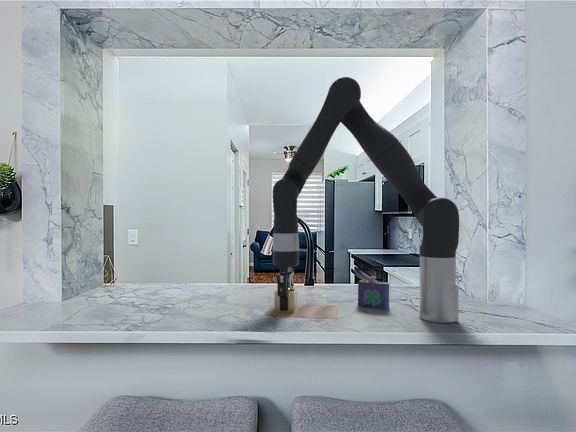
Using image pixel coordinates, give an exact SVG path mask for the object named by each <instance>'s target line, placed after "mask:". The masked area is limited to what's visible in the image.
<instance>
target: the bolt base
mask: <svg viewBox="0 0 576 432" xmlns="http://www.w3.org/2000/svg"><path fill="white" fill-rule="evenodd" d="M339 308H340V306H339V305H331V304H309V303H307V304H306V303H297V308H296V310H295V312H294V313H293V312H274V302H273V303H272V304H271V305H270V306H269V308H268V309H267V310H266V311H265V312H264V314H263V315H262V316H266V317H269V316H270V317H288V318H306V319H328V320H331V319H332V320H339V312H340V311H339Z"/></svg>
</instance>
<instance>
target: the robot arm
mask: <svg viewBox="0 0 576 432" xmlns="http://www.w3.org/2000/svg"><path fill="white" fill-rule="evenodd" d="M361 96H362V90H361V87H360V84H359V82H358V81H357V80H356V79H355V78H352V77H350V76H343V77H339V78H337V79H336V80H334V81H333V82H332V83H331V85H330V86H329V88H328V92H327V94H326V98H325V99H324V102H323V105H322V107H321V109H320V111H319V114H318V115H317V116H316V119H315V121H314V123H312V126H311V127H310V129H309V130H308V132H307V134H306V135H305V137H304V138H303V141H302V142H301V143H300V145H299V147H298V148H297V149H296V151H295V153H294V154H293V156H292V158H291V160H290V161H289V164H288V169H286V171H285V173H284V175H283V176H282V178H281V179H279V180H277V181H276V182H275V183H274V184H273V188H272V204H273V205H272V206H273V213H274V214H273V215H274V216H273V237H272V265H273V266H274V267H279V272H278V273H277V276H276V279H277V283H276V285H277V289H278V294H277V295H278V296H279V297H280V310H281V311H287V310H288V296H289V294H288V292H289V289H294V275H295V274H294V272H295V271H294V268H292V267H297V266H299V264H300V239H299V218H298V213H297V212H298V197H299V196H300V194H301V192H302V190H303V188H304V187H305V184H306V182H307V180H308V179H309V177H310V176H311V175H312V174H313V172H314V170H315V168H316V167H317V166H318V164H319V162H320V160H321V159H322V157H323V155H324V153H325V151H326V149H327V147H328V146H329V143H330V142H331V139H332V137H333V135H334V133H335V131H336V130H337V128H338V127H339V125H340V123H341V124H342V125H343V126H344V127H345V128H346V130H348V131H349V132H350V134H352V136H353V137H354V138H355V140H356V142H357V143H358V144H359V146H360V147H361V149H362V150H363V151H364V153H365V155H366V157H368V158H369V159H370V161H371V162H372V163H373V165H374V167H376V169H377V170H378V171H379V173H381V174H382V176H383V177H384V178H385V179H386V181H388V183H389V184H390V186H392V187H393V188H394V190H395V191H396V192H397V193H398V194H399V196H401V198H402V199H403V200H404V202H405V203H406V205H407V207H408V208H409V209H410V211H411V212H412V214H413V216H414V217H415V219H416V221H417V222H418V224H419V225H420V226H421V227H422V241H421V244H420V245H419V317H420V318H421V319H422V320H424V321H427V322H432V323H441V324H450V323H459V286H458V285H457V264H456V263H457V262H456V261H457V260H456V259H457V258H456V257H457V249H458V246H459V239H460V237H459V236H460V214H459V209H458V207H457V205H456V203H454V201H452V200H451V199H449V198H446V197H437V196H436V194H434V193H433V191H431V189H430V188H429V187H428V186H427V185H426V183H425V182H424V181H423V179H422V178H421V177H422V176H420V173H419V171H418V169H417V166H416V163H415V161H414V160H413V158H412V156H411V155H410V153H409V152H408V150H407V149H406V148H405V146H404V145H403V144H402V142H401V141H400V140H399V139H398V138H397V137H396V136H395V135H394V134H393V133H391V131H389V130H388V129H386V128H385V127H384V126H383V125H381V124H379V123H378V122H377V121H375V120H374V118H372V116H371V115H370V114H369V113H368V111H367V109H366V108H365V107H364V105H363V104H362V102H361V98H362V97H361ZM282 289H285V292H282Z"/></svg>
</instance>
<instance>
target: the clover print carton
mask: <svg viewBox="0 0 576 432" xmlns="http://www.w3.org/2000/svg"><path fill="white" fill-rule="evenodd" d="M376 278H377V276H374V275H371V276H370V279H367V280H366V279H365V278H363V279H361V280H358V283H357V293H358V294H357V306H358V307H362V308H367V309H374V310H375V309H376V310H389V309H390V283H389V282H384V281H382V282H381V281H376Z"/></svg>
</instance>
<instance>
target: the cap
mask: <svg viewBox="0 0 576 432" xmlns="http://www.w3.org/2000/svg"><path fill="white" fill-rule="evenodd" d="M282 292H285V289H282ZM277 294H278V288H276V290H274V300H273V303H274V312H293V313H294V312H295V310H296V308H297V304H298V289H297V288H293V289H289V292H288V294H289V296H288V310H287V311H281V310H280V297H279V296H278V295H277Z"/></svg>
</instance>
